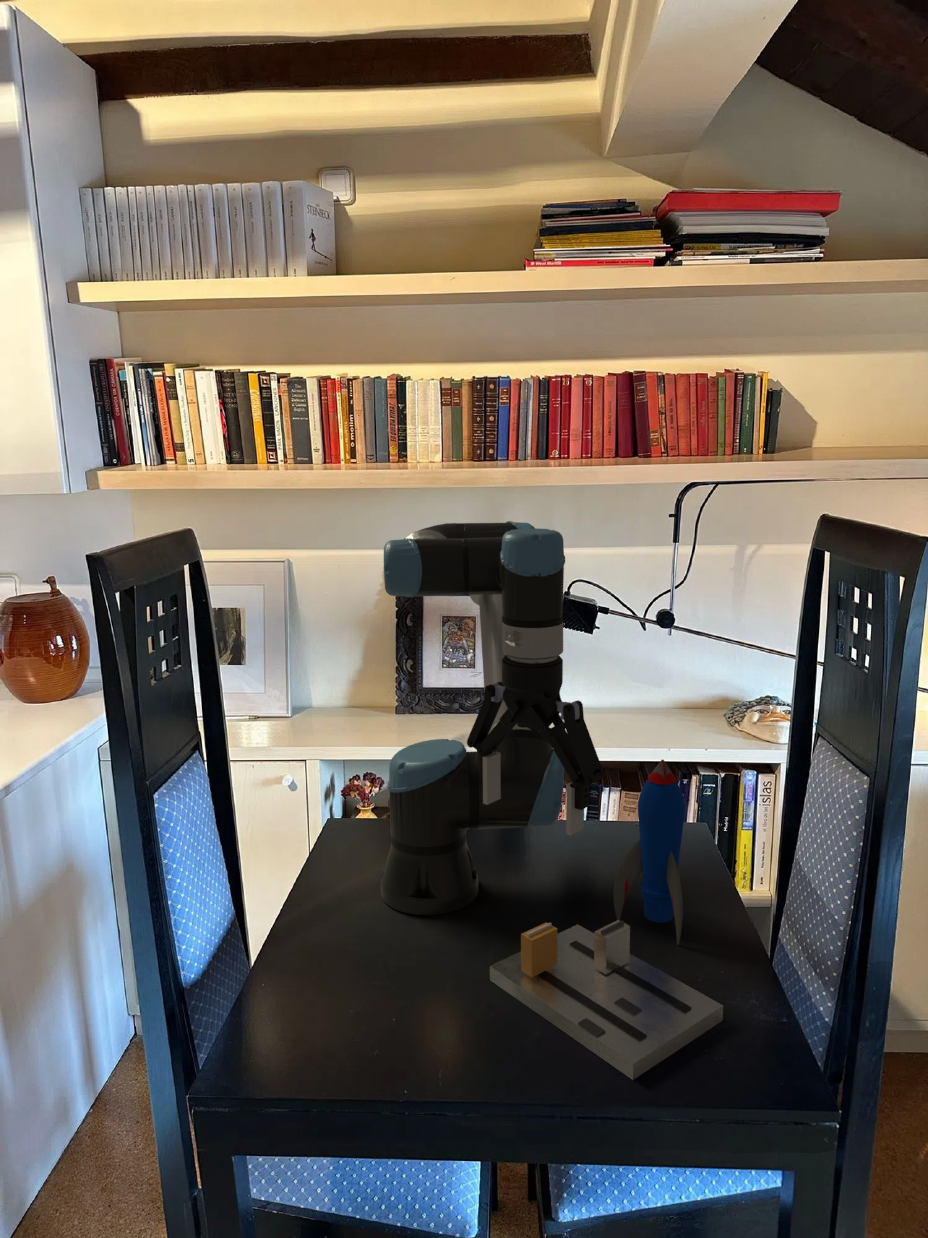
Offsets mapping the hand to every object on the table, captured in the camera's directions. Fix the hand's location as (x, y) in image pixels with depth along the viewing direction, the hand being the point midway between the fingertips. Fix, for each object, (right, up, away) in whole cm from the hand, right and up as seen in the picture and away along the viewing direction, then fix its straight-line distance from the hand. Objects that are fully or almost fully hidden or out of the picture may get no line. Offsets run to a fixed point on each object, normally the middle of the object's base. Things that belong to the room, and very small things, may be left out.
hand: (531, 815), depth 114 cm
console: (+8, -22, -4) cm, 24 cm away
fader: (+1, -19, -1) cm, 19 cm away
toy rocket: (+17, -19, +13) cm, 29 cm away
